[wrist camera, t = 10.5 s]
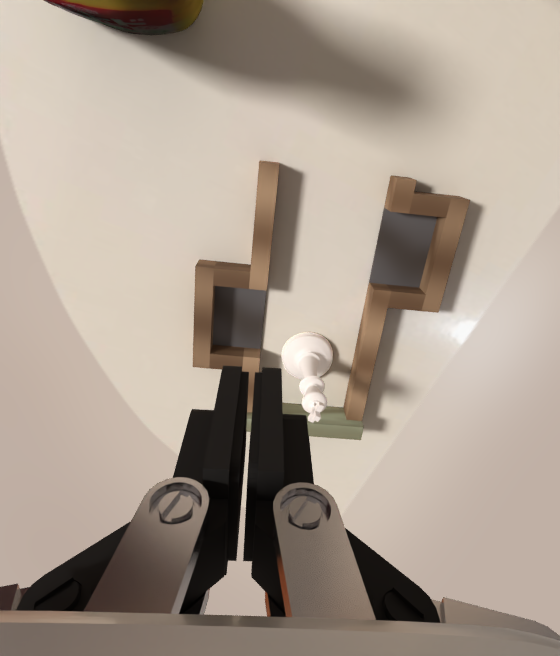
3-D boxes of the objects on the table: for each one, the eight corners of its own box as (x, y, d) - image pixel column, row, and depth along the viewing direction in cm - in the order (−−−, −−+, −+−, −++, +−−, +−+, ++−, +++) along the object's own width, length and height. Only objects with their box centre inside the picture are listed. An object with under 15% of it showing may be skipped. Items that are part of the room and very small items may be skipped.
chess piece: (342, 345, 41) (362, 407, 32) (316, 384, 43) (328, 453, 34) (297, 323, 40) (304, 380, 31) (272, 364, 42) (272, 430, 33)
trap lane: (202, 153, 34) (196, 156, 31) (463, 183, 35) (479, 188, 32) (194, 408, 44) (189, 427, 41) (397, 424, 45) (406, 443, 42)
